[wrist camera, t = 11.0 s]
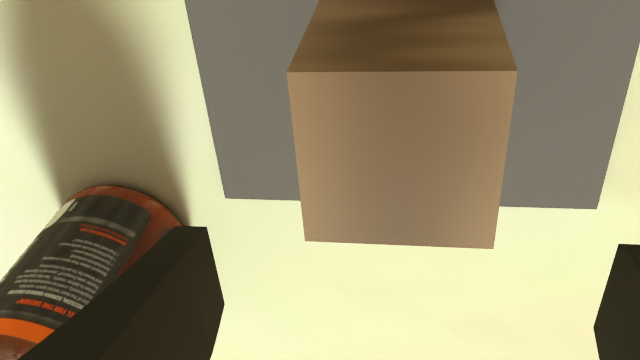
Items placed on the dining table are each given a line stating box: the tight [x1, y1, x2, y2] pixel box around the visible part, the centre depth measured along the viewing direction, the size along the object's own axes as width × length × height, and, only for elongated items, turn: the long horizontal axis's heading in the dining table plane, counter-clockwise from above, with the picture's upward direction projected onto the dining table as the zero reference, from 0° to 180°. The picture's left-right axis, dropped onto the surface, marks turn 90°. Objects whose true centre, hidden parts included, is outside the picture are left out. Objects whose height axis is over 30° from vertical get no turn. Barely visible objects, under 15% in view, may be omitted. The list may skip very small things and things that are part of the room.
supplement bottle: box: [0, 185, 182, 360], centre depth 21 cm, size 6×6×11 cm
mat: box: [185, 0, 640, 209], centre depth 18 cm, size 14×12×1 cm
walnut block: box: [287, 0, 518, 249], centre depth 15 cm, size 4×4×7 cm
